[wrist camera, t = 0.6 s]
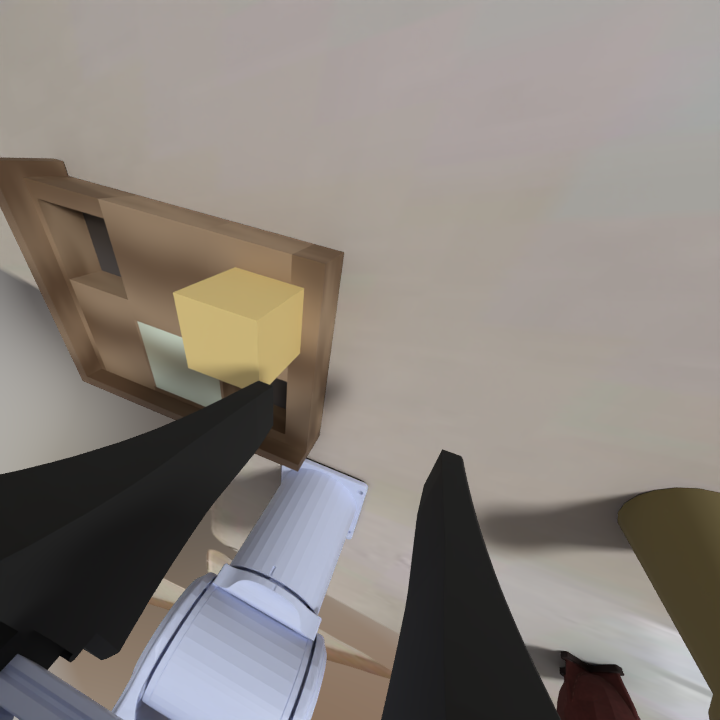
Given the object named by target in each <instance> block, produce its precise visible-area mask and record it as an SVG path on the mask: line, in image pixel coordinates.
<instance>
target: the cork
mask: <svg viewBox="0 0 720 720" xmlns="http://www.w3.org/2000/svg"><path fill="white" fill-rule="evenodd" d="M618 524H619V526H620V527H621V529H622V531H623V533H624V535H625V536H626V538H627V540H628V542H629V544H630V545H631V547H632V549H633V551H634V553H635V554H636V556H637V558H638V560H639V562H640V563H641V565H642V567H643V569H644V571H645V572H646V574H647V576H648V578H649V580H650V581H651V583H652V585H653V587H654V589H655V590H656V592H657V594H658V596H659V598H660V599H661V601H662V603H663V605H664V607H665V608H666V610H667V612H668V614H669V616H670V617H671V619H672V621H673V623H674V625H675V626H676V628H677V630H678V632H679V634H680V635H681V637H682V639H683V641H684V643H685V644H686V646H687V648H688V650H689V652H690V653H691V655H692V657H693V659H694V661H695V662H696V664H697V666H698V668H699V670H700V671H701V673H702V675H703V677H704V679H705V680H706V682H707V684H708V686H709V688H710V689H711V691H712V693H713V697H712V700H711V704H710V708H709V711H708V714H709V719H710V720H720V493H718V492H713V491H708V490H703V489H694V488H670V489H661V490H654V491H651V492H648V493H644V494H641V495H638V496H636V497H634V498H633V499H631V500H629V501H628V502H626V503H625V504H624V505H623V506H622V508H621V509H620V510H619V512H618Z"/></svg>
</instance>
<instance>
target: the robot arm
mask: <svg viewBox="0 0 720 720" xmlns="http://www.w3.org/2000/svg"><path fill="white" fill-rule="evenodd" d="M272 426H273V386H272V385H269V384H267V383H264V382H261V381H257V382H255V383H252V384H250V385H248V386H246V387H244V388H242V389H240V390H239V391H237V392H235V393H233V394H231V395H229V396H227V397H225V398H223V399H221V400H219V401H217V402H215V403H213V404H211V405H208V406H206V407H204V408H202V409H200V410H198V411H196V412H194V413H192V414H189V415H187V416H185V417H183V418H180V419H178V420H176V421H174V422H171V423H169V424H167V425H164V426H162V427H160V428H157V429H155V430H152V431H150V432H147V433H144V434H141V435H139V436H136V437H133V438H130V439H128V440H125V441H122V442H119V443H116V444H113V445H109V446H106V447H103V448H100V449H96V450H93V451H90V452H87V453H84V454H80V455H77V456H73V457H70V458H66V459H63V460H59V461H55V462H52V463H47V464H43V465H40V466H35V467H31V468H27V469H23V470H19V471H15V472H10V473H5V474H0V720H13V718H14V716H15V717H17V718H18V719H19V720H311V717H312V714H313V711H314V708H315V705H316V702H317V698H318V695H319V691H320V688H321V684H322V679H323V676H324V671H325V666H326V658H327V654H326V649H325V645H324V643H325V642H324V637H323V636H322V635H320V634H319V633H317V631H318V628H319V625H320V622H321V617H319V616H318V613H319V610H320V608H321V605H322V602H323V599H324V597H325V594H326V591H327V588H328V586H329V583H330V580H331V577H332V575H333V572H334V569H335V566H336V564H337V561H338V558H339V555H340V553H341V550H342V547H343V545H344V542H345V539H351V538H352V536H353V533H354V530H355V526H356V523H357V520H358V517H359V514H360V511H361V508H362V505H363V502H364V499H365V496H366V493H367V490H368V486H367V484H366V483H364V482H362V481H359V480H357V479H354V478H352V477H350V476H347V475H345V474H342V473H340V472H337V471H335V470H333V469H330V468H328V467H325V466H323V465H320V464H318V463H316V462H313V461H311V460H308V459H305V461H304V462H303V464H302V466H301V467H300V469H299V471H298V472H297V471H295V470H293V469H290V468H288V467H285V466H283V465H282V474H281V485H280V486H279V488H278V489H277V491H276V493H275V494H274V496H273V497H272V499H271V500H270V502H269V504H268V505H267V507H266V508H265V510H264V512H263V513H262V515H261V516H260V518H259V519H258V521H257V523H256V524H255V526H254V527H253V529H252V531H251V532H250V534H249V535H248V537H247V538H246V540H245V542H244V543H243V545H242V546H241V548H240V550H239V551H238V553H237V554H236V556H235V558H234V559H233V561H232V562H231V564H230V565H228V564H224V566H223V567H222V569H221V570H220V572H219V574H218V575H216V574H214V573H212V572H209V573H207V574H206V575H204V576H202V577H199V578H197V579H196V580H195V581H193V582H192V583H191V584H190V585H189V586H188V587H187V589H186V590H185V591H184V592H183V593H182V595H181V596H180V597H179V598H178V600H177V601H176V602H175V604H174V605H173V606H172V608H171V609H170V610H169V612H168V613H167V615H166V616H165V617H164V619H163V620H162V622H161V623H160V625H159V627H158V628H157V630H156V631H155V633H154V634H153V636H152V637H151V639H150V641H149V642H148V644H147V645H146V647H145V649H144V651H143V652H142V655H141V656H140V658H139V660H138V662H137V664H136V666H135V668H134V670H133V673H132V677H131V679H130V681H129V683H128V684H127V686H126V688H125V690H124V691H123V693H122V695H121V696H120V698H119V700H118V701H117V703H116V705H115V706H114V708H113V710H112V711H109V710H108V709H106V708H105V707H103V706H102V705H100V704H99V703H97V702H96V701H94V700H92V699H91V698H89V697H88V696H86V695H85V694H83V693H82V692H80V691H78V690H77V689H75V688H74V687H72V686H71V685H69V684H68V683H66V682H65V681H63V680H62V679H60V678H59V677H57V676H55V675H54V674H52V673H51V672H49V671H48V669H49V667H50V666H51V665H52V664H53V663H54V662H55V660H56V659H57V658H58V657H59V656H61V657H63V658H64V659H66V660H67V661H69V662H72V661H73V660H75V658H76V657H77V656H78V655H79V653H80V652H81V651H82V650H83V649H84V650H86V651H88V652H89V653H91V654H92V655H94V656H96V657H97V658H99V659H100V660H104V659H107V658H109V657H111V656H113V655H115V654H117V653H118V652H119V651H120V650H121V648H122V646H123V645H124V643H125V641H126V639H127V638H128V636H129V634H130V633H131V631H132V629H133V627H134V625H135V624H136V622H137V621H138V619H139V617H140V615H141V614H142V612H143V610H144V609H145V607H146V605H147V604H148V602H149V600H150V599H151V597H152V595H153V594H154V592H155V591H156V589H157V587H158V586H159V584H160V583H161V581H162V579H163V578H164V576H165V574H166V573H167V571H168V570H169V568H170V566H171V565H172V563H173V562H174V560H175V559H176V557H177V556H178V554H179V553H180V551H181V550H182V548H183V546H184V545H185V544H186V542H187V541H188V539H189V538H190V536H191V535H192V533H193V532H194V530H195V529H196V527H197V525H198V524H199V523H200V521H201V520H202V518H203V517H204V516H205V514H206V512H207V511H208V510H209V509H210V507H211V506H212V505H213V503H214V502H215V501H216V500H217V498H218V497H219V496H220V495H221V494H222V492H223V491H224V490H225V489H226V487H227V486H228V485H229V484H230V483H231V481H232V480H233V479H234V478H235V477H236V475H237V474H238V473H239V472H240V471H241V469H242V468H243V467H244V466H245V464H246V463H247V462H248V461H249V459H250V458H251V457H252V456H253V455H254V453H255V452H256V451H257V450H258V448H259V447H260V445H261V444H262V442H263V441H264V439H265V438H266V436H267V434H268V433H269V431H270V429H271V428H272ZM381 720H561V718H560V716H559V715H558V713H557V711H556V709H555V707H554V704H553V702H552V700H551V698H550V696H549V694H548V692H547V690H546V688H545V686H544V684H543V682H542V680H541V678H540V675H539V673H538V671H537V669H536V667H535V665H534V663H533V661H532V659H531V657H530V655H529V653H528V651H527V648H526V646H525V644H524V642H523V640H522V637H521V635H520V633H519V630H518V628H517V626H516V624H515V621H514V619H513V617H512V614H511V612H510V610H509V607H508V605H507V602H506V600H505V597H504V595H503V592H502V590H501V587H500V585H499V582H498V579H497V577H496V574H495V571H494V569H493V566H492V563H491V560H490V557H489V554H488V551H487V549H486V546H485V542H484V539H483V536H482V533H481V530H480V526H479V523H478V520H477V516H476V513H475V509H474V506H473V502H472V498H471V494H470V490H469V486H468V482H467V477H466V473H465V468H464V462H463V459H462V457H461V456H459V455H456V454H453V453H451V452H448V451H445V450H443V449H442V451H441V453H440V455H439V457H438V459H437V461H436V463H435V465H434V467H433V469H432V471H431V473H430V475H429V477H428V479H427V481H426V482H425V484H424V488H423V492H422V496H421V501H420V505H419V510H418V514H417V521H416V529H415V537H414V546H413V554H412V562H411V571H410V579H409V588H408V594H407V601H406V607H405V612H404V617H403V622H402V627H401V632H400V636H399V641H398V647H397V651H396V655H395V660H394V665H393V669H392V674H391V679H390V683H389V688H388V692H387V696H386V701H385V706H384V710H383V714H382V719H381Z"/></svg>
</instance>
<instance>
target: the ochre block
mask: <svg viewBox="0 0 720 720" xmlns="http://www.w3.org/2000/svg"><path fill="white" fill-rule="evenodd" d="M173 295H174V300H175V305H176V310H177V315H178V320H179V325H180V330H181V335H182V339H183V344H184V349H185V354H186V359H187V364H188V368H190V369H192V370H195V371H198V372H200V373H203V374H206V375H208V376H211V377H213V378H216V379H219V380H221V381H224V382H226V383H229V384H232V385H234V386H237V387H239V388H244V387H246V386H248V385H250V384H252V383H255V382H257V381H261V382H264V383H267V384H269V385H270V384H271V383H272V382H273V381H274V380H275V379H276V378H277V377H278V376H279V375H280V374H281V372H282V371H283V370H284V369H285V368H286V367H287V366H288V365H289V364H290V363H291V362H292V361H293V360H294V359H295V358H296V357H297V356H298V355H299V354H300V346H301V331H302V315H303V299H304V288H302V287H298V286H295V285H292V284H288V283H285V282H282V281H279V280H275V279H272V278H269V277H266V276H262V275H259V274H256V273H253V272H249V271H246V270H243V269H240V268H236V267H234V268H232V269H229V270H227V271H225V272H222V273H220V274H217V275H215V276H212V277H210V278H207V279H205V280H202V281H200V282H197V283H195V284H193V285H190V286H188V287H185V288H183V289H180V290H178V291H175V292H173Z"/></svg>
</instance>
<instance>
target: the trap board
mask: <svg viewBox="0 0 720 720" xmlns="http://www.w3.org/2000/svg"><path fill="white" fill-rule="evenodd" d="M0 207H1V209H2V211H3V213H4V216H5V218H6V220H7V222H8V224H9V226H10V228H11V230H12V232H13V235H14V237H15V239H16V241H17V243H18V245H19V247H20V249H21V251H22V254H23V256H24V258H25V260H26V262H27V264H28V266H29V268H30V270H31V273H32V275H33V277H34V279H35V281H36V283H37V285H38V287H39V289H40V292H41V294H42V296H43V298H44V300H45V302H46V304H47V306H48V308H49V310H50V313H51V315H52V317H53V319H54V321H55V323H56V325H57V327H58V329H59V332H60V334H61V336H62V338H63V340H64V342H65V344H66V346H67V348H68V351H69V353H70V355H71V357H72V359H73V361H74V363H75V365H76V367H77V370H78V372H79V374H80V376H81V378H82V380H83V381H84V382H87V383H89V384H91V385H94V386H96V387H99V388H101V389H104V390H106V391H108V392H110V393H113V394H115V395H118V396H120V397H122V398H125V399H127V400H129V401H132V402H134V403H136V404H139V405H141V406H144V407H146V408H149V409H151V410H153V411H156V412H158V413H160V414H162V415H165V416H167V417H170V418H172V419H174V420H178V419H180V418H183V417H185V416H187V415H189V414H192V413H194V412H196V411H198V410H200V409H202V408H204V407H206V406H208V405H211V404H213V403H215V402H217V401H219V400H221V399H223V398H225V397H227V396H229V395H231V394H233V393H235V392H237V391H239V390H240V389H242V388H239V387H237V386H234V385H232V384H229V383H226V382H224V381H221V380H219V379H216V378H213V377H211V376H208V375H206V374H203V373H200V372H198V371H195V370H192V369H190V368H188V364H187V359H186V354H185V349H184V344H183V339H182V335H181V330H180V325H179V320H178V315H177V310H176V305H175V300H174V295H173V292H175V291H178V290H180V289H183V288H185V287H188V286H190V285H193V284H195V283H197V282H200V281H202V280H205V279H207V278H210V277H212V276H215V275H217V274H220V273H222V272H225V271H227V270H229V269H232V268H234V267H236V268H240V269H243V270H246V271H249V272H253V273H256V274H259V275H262V276H266V277H269V278H272V279H275V280H279V281H282V282H285V283H288V284H292V285H295V286H298V287H302V288H304V299H303V315H302V331H301V346H300V354H299V355H298V356H297V357H296V358H295V359H294V360H293V361H292V362H291V363H290V364H289V365H288V366H287V367H286V368H285V369H284V370H283V371H282V372H281V374H280V375H279V376H278V377H277V378H276V379H275V380H274V381H273V382H272V383H271V384H270V385H272V386H273V426H272V428H271V429H270V431H269V433H268V434H267V436H266V438H265V439H264V441H263V442H262V444H261V445H260V447H259V448H258V450H257V451H256V452H255V454H257V455H259V456H262V457H264V458H267V459H269V460H271V461H274V462H276V463H278V464H281V465H283V466H285V467H288V468H290V469H293V470H295V471H297V472H298V471H299V469H300V467H301V466H302V464H303V462H304V461H305V459H306V457H307V456H308V454H309V452H310V451H311V449H312V447H313V446H314V444H315V442H316V441H317V439H318V437H319V435H320V427H321V420H322V412H323V405H324V398H325V390H326V383H327V375H328V368H329V361H330V353H331V346H332V338H333V331H334V324H335V316H336V309H337V301H338V294H339V287H340V279H341V272H342V264H343V257H344V252H341V251H337V250H333V249H330V248H326V247H323V246H319V245H315V244H312V243H308V242H305V241H301V240H297V239H294V238H290V237H286V236H283V235H279V234H276V233H272V232H268V231H265V230H261V229H258V228H254V227H250V226H247V225H243V224H240V223H236V222H232V221H229V220H225V219H221V218H218V217H214V216H211V215H207V214H203V213H200V212H196V211H193V210H189V209H185V208H182V207H178V206H175V205H171V204H167V203H164V202H160V201H156V200H153V199H149V198H146V197H142V196H138V195H135V194H131V193H128V192H124V191H120V190H117V189H113V188H109V187H106V186H102V185H99V184H95V183H91V182H88V181H84V180H81V179H77V178H73V177H70V176H68V174H67V171H66V168H65V165H64V162H63V161H60V160H57V159H47V158H0Z"/></svg>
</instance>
